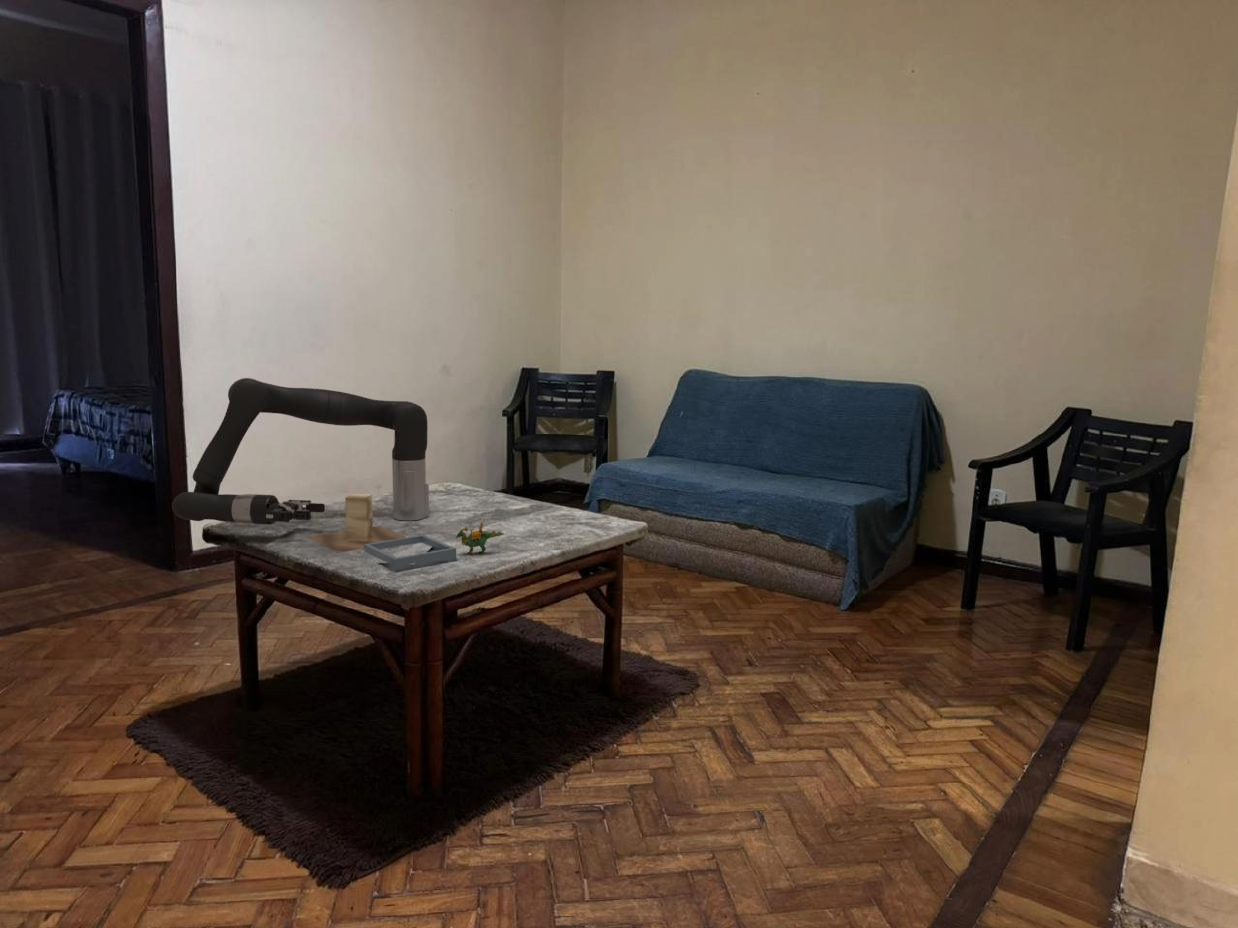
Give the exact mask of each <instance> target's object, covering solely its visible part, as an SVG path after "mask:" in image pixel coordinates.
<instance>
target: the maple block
mask: <svg viewBox="0 0 1238 928" xmlns="http://www.w3.org/2000/svg"><path fill="white" fill-rule="evenodd" d="M344 500H345V531H346V541H367V540H369V539H370V538H371V537H373V527H374V526H373V524H374V523H373V522H374V521H373V494H370V493H367V494H365V493H351V494H350V495H348V496H346V497H345V499H344Z"/></svg>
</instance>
